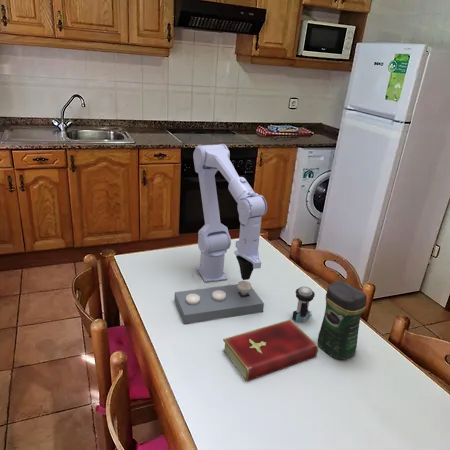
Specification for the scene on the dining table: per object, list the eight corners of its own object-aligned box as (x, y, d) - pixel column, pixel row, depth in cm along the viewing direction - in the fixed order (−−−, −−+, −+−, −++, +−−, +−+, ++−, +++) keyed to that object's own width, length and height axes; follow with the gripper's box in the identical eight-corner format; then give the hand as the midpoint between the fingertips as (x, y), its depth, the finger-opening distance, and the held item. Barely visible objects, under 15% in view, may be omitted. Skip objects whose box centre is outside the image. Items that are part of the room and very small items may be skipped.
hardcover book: (316, 358, 104) (319, 345, 102) (246, 383, 94) (247, 369, 93) (288, 331, 113) (290, 318, 112) (222, 351, 104) (223, 338, 102)
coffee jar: (360, 354, 106) (374, 293, 99) (339, 364, 101) (353, 301, 94) (332, 333, 113) (344, 275, 106) (311, 342, 109) (322, 282, 102)
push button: (305, 311, 122) (310, 282, 119) (317, 320, 118) (322, 291, 114) (287, 316, 119) (292, 287, 115) (299, 326, 115) (304, 296, 111)
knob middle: (210, 300, 122) (210, 291, 121) (222, 298, 124) (223, 289, 122) (214, 307, 119) (214, 298, 118) (227, 305, 120) (227, 296, 119)
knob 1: (184, 303, 120) (184, 294, 118) (197, 302, 121) (197, 292, 120) (187, 311, 116) (188, 302, 115) (201, 309, 117) (201, 300, 116)
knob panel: (174, 300, 123) (174, 292, 122) (247, 290, 131) (248, 282, 130) (184, 324, 112) (184, 315, 111) (263, 311, 120) (264, 303, 119)
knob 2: (235, 290, 124) (236, 281, 123) (247, 289, 125) (248, 280, 124) (240, 297, 121) (241, 288, 119) (252, 296, 122) (253, 286, 121)
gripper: (227, 228, 121) (224, 268, 126) (246, 249, 108) (241, 293, 113) (249, 226, 123) (245, 266, 128) (269, 246, 111) (264, 289, 116)
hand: (245, 278), depth 121 cm, fingers closed
